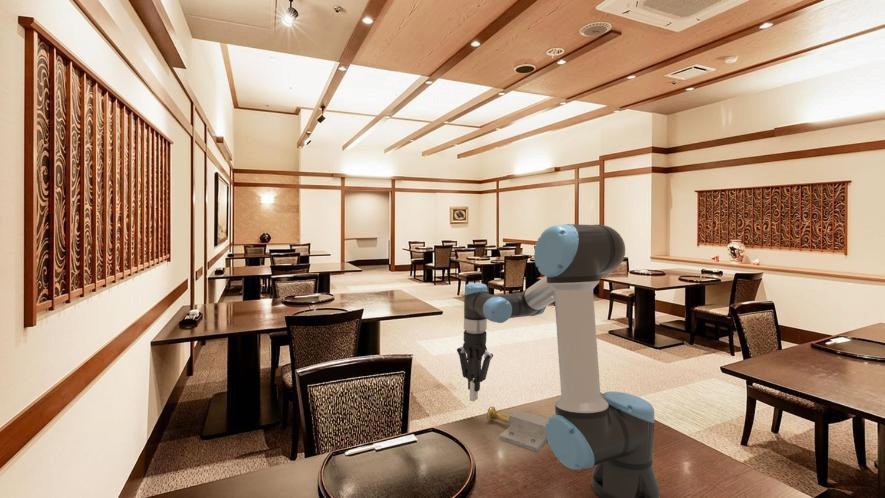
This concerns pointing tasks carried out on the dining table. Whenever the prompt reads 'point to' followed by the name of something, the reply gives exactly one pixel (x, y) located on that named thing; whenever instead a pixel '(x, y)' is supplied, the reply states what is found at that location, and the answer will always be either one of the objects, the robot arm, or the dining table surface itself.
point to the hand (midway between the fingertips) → (473, 399)
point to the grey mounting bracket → (525, 430)
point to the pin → (497, 415)
